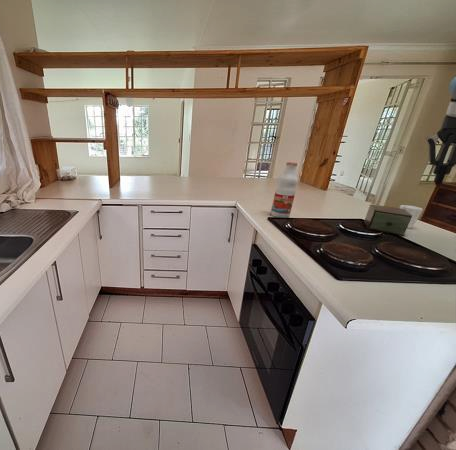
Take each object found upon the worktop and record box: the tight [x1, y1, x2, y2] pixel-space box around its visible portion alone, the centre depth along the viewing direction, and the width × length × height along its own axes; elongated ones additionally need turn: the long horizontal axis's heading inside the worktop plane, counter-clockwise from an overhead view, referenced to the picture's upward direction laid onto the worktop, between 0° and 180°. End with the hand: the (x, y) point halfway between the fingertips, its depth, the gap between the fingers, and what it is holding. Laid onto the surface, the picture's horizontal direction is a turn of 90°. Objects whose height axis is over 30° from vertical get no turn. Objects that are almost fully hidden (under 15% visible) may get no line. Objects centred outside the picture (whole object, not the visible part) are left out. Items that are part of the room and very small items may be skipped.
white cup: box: [399, 204, 424, 229], centre depth 118 cm, size 8×8×10 cm
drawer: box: [370, 212, 410, 235], centre depth 111 cm, size 15×11×8 cm
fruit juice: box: [270, 161, 299, 219], centre depth 123 cm, size 9×9×28 cm
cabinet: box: [363, 203, 412, 237], centre depth 113 cm, size 15×13×10 cm
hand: (437, 182), depth 87 cm, fingers closed
